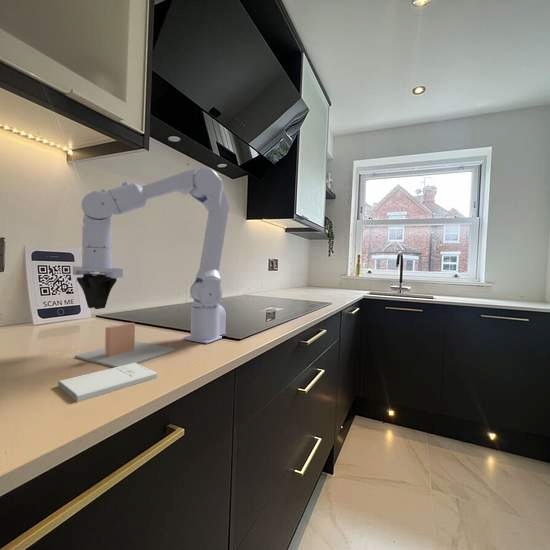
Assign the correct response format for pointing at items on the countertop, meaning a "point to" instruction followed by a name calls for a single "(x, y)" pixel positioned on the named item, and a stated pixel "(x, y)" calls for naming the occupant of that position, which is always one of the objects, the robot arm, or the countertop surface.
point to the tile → (119, 339)
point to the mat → (126, 355)
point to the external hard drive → (105, 381)
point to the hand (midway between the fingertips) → (96, 307)
